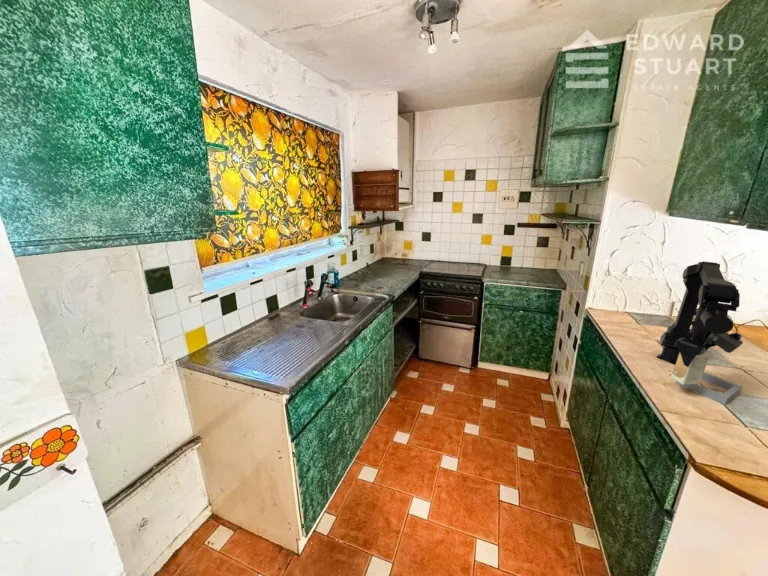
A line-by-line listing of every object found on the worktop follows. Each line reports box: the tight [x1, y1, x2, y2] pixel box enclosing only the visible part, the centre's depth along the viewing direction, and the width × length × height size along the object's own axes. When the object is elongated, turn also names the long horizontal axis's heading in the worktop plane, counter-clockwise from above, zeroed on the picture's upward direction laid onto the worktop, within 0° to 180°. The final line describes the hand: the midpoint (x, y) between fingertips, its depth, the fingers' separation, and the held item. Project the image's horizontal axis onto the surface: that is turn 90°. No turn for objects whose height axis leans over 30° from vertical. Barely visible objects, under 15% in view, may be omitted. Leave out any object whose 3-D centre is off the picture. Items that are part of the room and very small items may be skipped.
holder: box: [675, 371, 743, 405], centre depth 109 cm, size 13×13×2 cm
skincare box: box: [670, 350, 712, 385], centre depth 102 cm, size 6×4×12 cm
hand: (691, 362), depth 102 cm, fingers closed on skincare box, 7 cm apart
